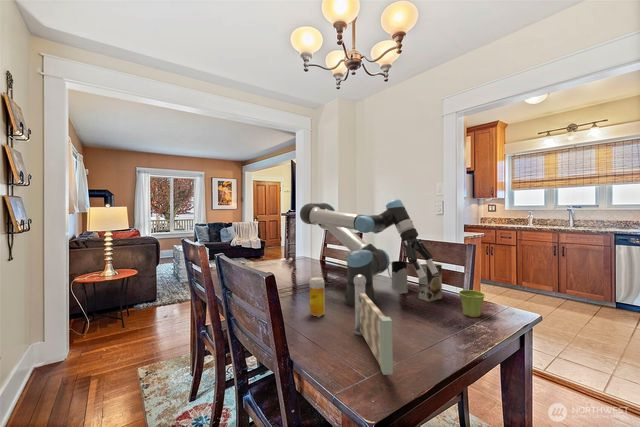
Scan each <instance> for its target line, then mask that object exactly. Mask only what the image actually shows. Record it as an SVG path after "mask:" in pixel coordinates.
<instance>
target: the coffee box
mask: <svg viewBox="0 0 640 427" xmlns="http://www.w3.org/2000/svg"><path fill="white" fill-rule="evenodd" d="M420 265H421V267H422V269H423V271H424V273H425V275H426V276H424V277H422V278H419V277H418V299H421V300H424V301H425V302H433V301H436V300H441V299H442V298H443V286H442V285H443V283H442V282H443V281H442V280H443V279H442V277H443V276H442V274H443V272H442V271H443V269H442V264H439V263H434V265H435V267H436V269H437V271H438V272H437V273H435V274H432V273H431V271H430V269H429V267H428V265H427V263H423V264H420Z"/></svg>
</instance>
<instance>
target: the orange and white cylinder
mask: <svg viewBox="0 0 640 427" xmlns="http://www.w3.org/2000/svg"><path fill="white" fill-rule="evenodd" d="M325 295H326V294H325V280H324V278H323V277H321V276H320V277H318V276H317V277H316V276H315V277H311V278H310V279H309V314H310V315H311V316H312V315H313V316H322V315H323V316H324V315H325V314H326V309H325V308H326V307H325V305H326V303H325V301H326V299H325ZM313 316H312V317H313ZM323 316H322V317H323Z"/></svg>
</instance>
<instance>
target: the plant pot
mask: <svg viewBox="0 0 640 427" xmlns="http://www.w3.org/2000/svg"><path fill="white" fill-rule="evenodd" d="M458 294H459V297H460V299H461V306H462V313H463V315H465V316H469V317H471V318H478V317H481V314H482V308H483V302H484V299H485V297H486V294H485V293H484V292H482V291H478V290H472V289H462V290H459V291H458Z"/></svg>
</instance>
